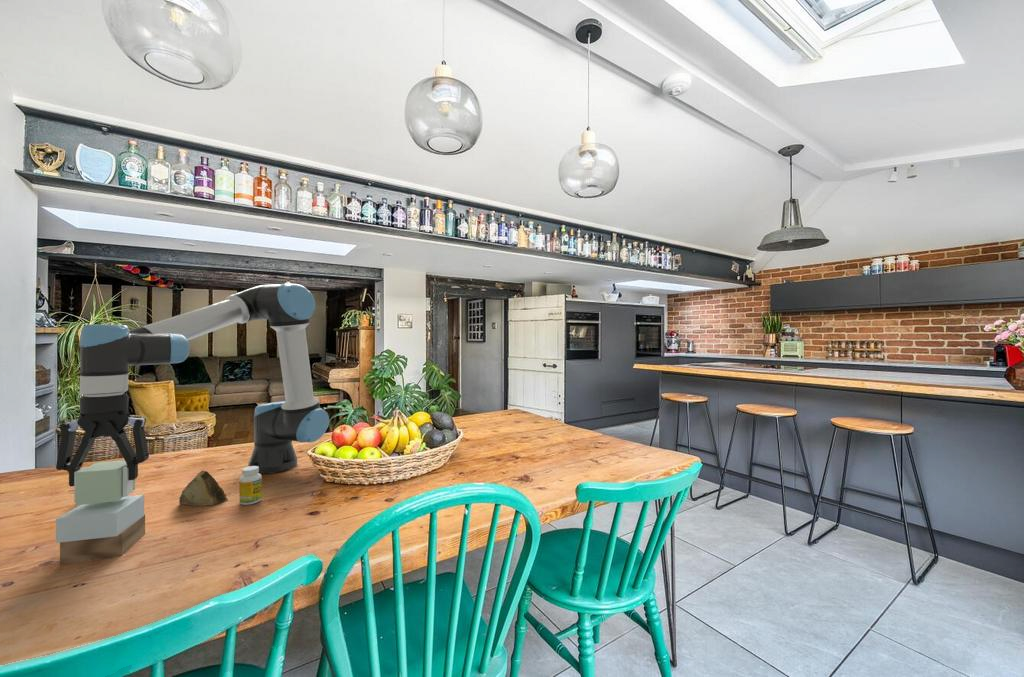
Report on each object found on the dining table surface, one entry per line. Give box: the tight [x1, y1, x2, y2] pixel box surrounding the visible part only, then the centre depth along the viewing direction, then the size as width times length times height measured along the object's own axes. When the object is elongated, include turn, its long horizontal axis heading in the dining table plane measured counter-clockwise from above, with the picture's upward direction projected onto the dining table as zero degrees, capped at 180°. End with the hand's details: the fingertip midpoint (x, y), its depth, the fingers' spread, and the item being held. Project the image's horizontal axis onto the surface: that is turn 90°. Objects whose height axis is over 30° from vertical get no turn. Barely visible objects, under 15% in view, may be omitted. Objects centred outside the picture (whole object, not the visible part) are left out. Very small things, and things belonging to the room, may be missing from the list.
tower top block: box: [55, 494, 145, 544], centre depth 88 cm, size 10×10×5 cm
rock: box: [178, 469, 228, 506], centre depth 114 cm, size 11×9×10 cm
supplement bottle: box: [238, 466, 263, 506], centre depth 114 cm, size 5×5×10 cm
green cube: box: [74, 460, 136, 506], centre depth 90 cm, size 7×7×7 cm
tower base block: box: [59, 513, 146, 566], centre depth 89 cm, size 10×10×5 cm
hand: (104, 497), depth 89 cm, fingers closed on green cube, 7 cm apart
